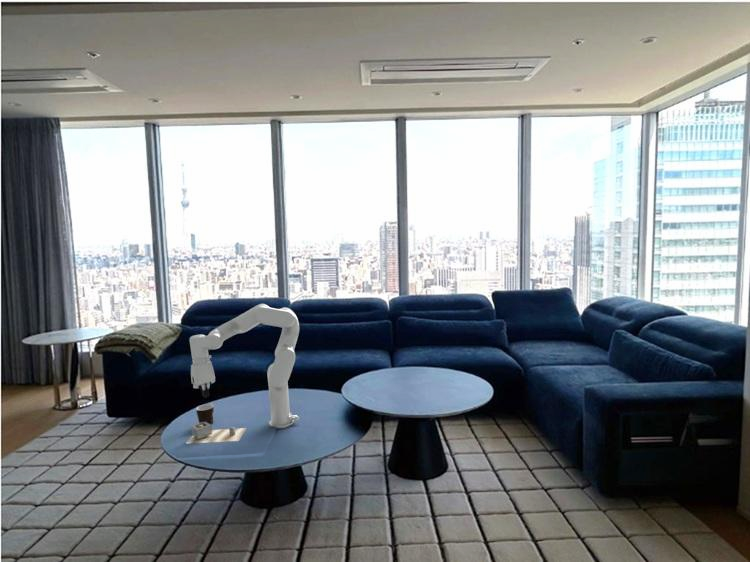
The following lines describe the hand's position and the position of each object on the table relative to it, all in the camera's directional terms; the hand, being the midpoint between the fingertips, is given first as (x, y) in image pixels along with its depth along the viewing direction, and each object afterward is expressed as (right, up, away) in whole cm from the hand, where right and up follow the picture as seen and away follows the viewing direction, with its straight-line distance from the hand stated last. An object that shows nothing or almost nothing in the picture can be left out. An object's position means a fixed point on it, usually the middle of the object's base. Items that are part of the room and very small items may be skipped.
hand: (206, 396), depth 225 cm
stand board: (+6, -20, -1) cm, 21 cm away
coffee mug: (-5, -19, +16) cm, 25 cm away
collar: (-2, -18, -1) cm, 18 cm away
